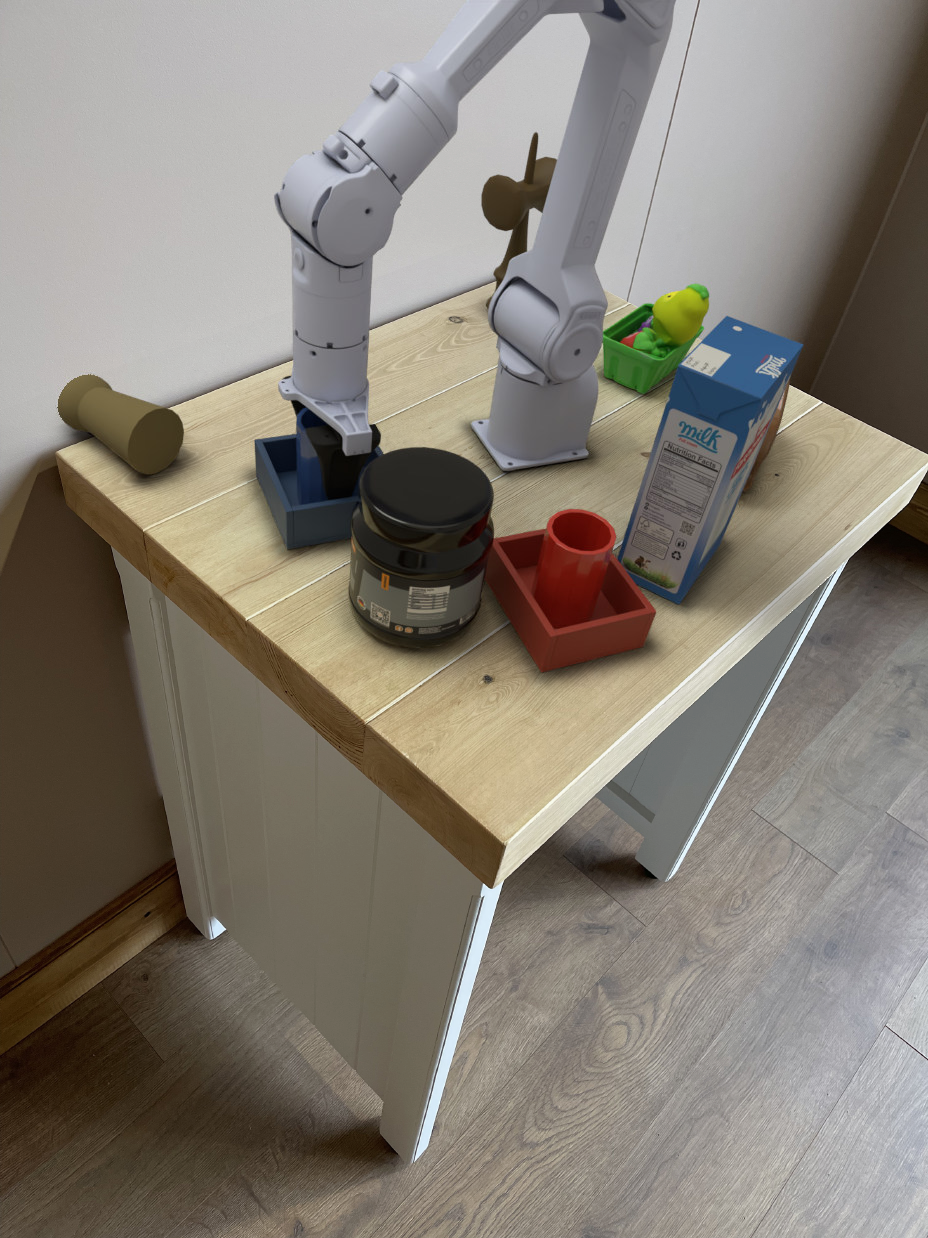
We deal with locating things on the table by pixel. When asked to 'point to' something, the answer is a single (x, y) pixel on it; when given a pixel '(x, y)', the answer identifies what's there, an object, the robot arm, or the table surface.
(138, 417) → the olive brown flared cylinder
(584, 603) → the red cup
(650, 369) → the fruit basket
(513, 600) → the red bin
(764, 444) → the tin
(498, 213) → the kendama
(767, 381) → the milk carton
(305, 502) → the blue cup
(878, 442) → the table surface
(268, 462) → the blue bin
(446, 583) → the supplement container
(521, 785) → the table surface
